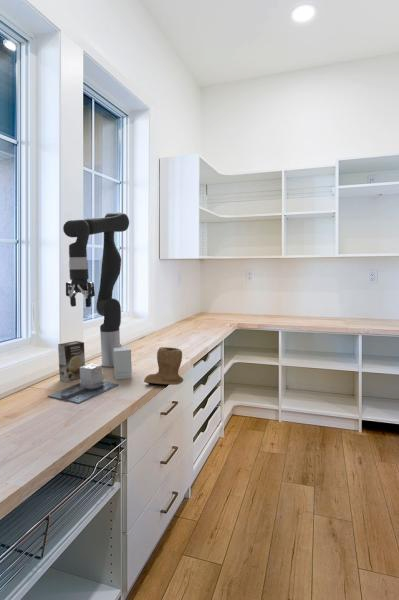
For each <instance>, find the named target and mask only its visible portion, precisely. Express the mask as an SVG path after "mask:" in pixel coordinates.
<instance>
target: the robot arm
mask: <svg viewBox="0 0 399 600" xmlns="http://www.w3.org/2000/svg"><path fill="white" fill-rule="evenodd" d="M129 227H130V219H129V215H127V214H126V213H123V212H107V213H106V214H105V216H104V217H90V218H84V219H74V220H67V221H65V223H64V224H63V227H62V230H63V234H65V236H67V237H69V238H76V239H75V242H73V243H70V244H68V245H69V246H68V258H69V260H68V268H69V279H70V280H71V281H67V282H65V296H66V297H69V300H70V301H69V302H70V306H71V307H77V301H76V296H77V295H78V293H81V295H83V296H84V297H85V307H86V308H91V307H92V298H93V297H95V296H96V291H95V284H94V282H93V281H91V282H89V281H88V280H89V263H88V261H89V260H88V255H87V254H88V252H87V251H88V250H87V246H88V241H89V237H90V235H91V236H92V235H96V234H102V233H103V248H102V258H101V267H100V269H101V271H100V280H99V281H100V282H99V288H98V289H99V290H98V294H97V301H96V305H95V307H96V312H97V314H99V316H101V317H103V323H102V324H101V325H100V326H99V330H100V331H99V332H100V350H101V351H100V354H101V365H102V367H107V368H111V367H113V368H114V358H113V348H120V347H122V344H121V337H120V335H121V334H120V326H121V324H122V322H121V321H122V308H121V303H120V301H119V300H118V299H116V298H114V297H113V291H114V287H115V284H116V283H117V280H118V279H119V276H120V274H121V269H122V268H121V267H122V257H121V254H120V252H119V250H118V248H117V246H116V243H115V232H116V233H117V232H118V233H121V232H125V231H127V230H128V229H129Z"/></svg>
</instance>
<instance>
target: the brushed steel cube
mask: <svg viewBox="0 0 399 600" xmlns="http://www.w3.org/2000/svg"><path fill="white" fill-rule="evenodd" d="M103 372H104V371H103V366H102V364H96V363H92V362H90V363H88V364H85V366H82V367H80V379H79V381H80V382H79V383H80V384H82V385H87V386H94V385H96V384H99V383H101V382H103V381H104V378H103Z"/></svg>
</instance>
